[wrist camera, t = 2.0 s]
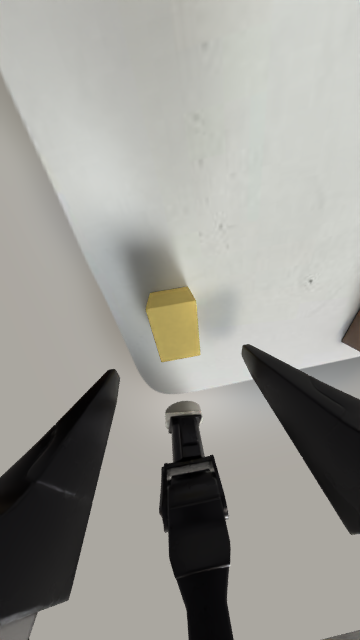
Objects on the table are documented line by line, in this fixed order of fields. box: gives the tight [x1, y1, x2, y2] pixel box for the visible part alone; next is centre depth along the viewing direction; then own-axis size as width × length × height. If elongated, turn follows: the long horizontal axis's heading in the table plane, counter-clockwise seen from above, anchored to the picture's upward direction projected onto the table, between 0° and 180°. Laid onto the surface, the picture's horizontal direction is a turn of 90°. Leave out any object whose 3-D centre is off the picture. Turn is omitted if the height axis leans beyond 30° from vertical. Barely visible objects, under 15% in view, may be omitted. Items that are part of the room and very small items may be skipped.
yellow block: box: [146, 287, 200, 362], centre depth 13 cm, size 6×4×4 cm, turn 8°
